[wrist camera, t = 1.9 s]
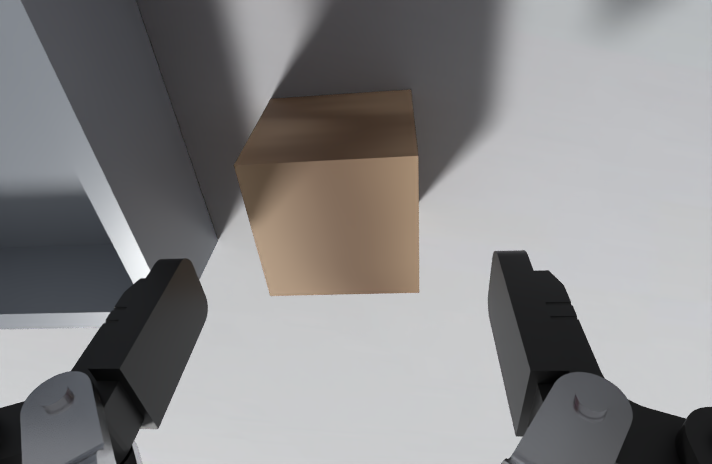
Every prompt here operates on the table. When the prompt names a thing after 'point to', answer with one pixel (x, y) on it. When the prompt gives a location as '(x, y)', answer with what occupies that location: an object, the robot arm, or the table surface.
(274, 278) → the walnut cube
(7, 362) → the table surface
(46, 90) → the tote
